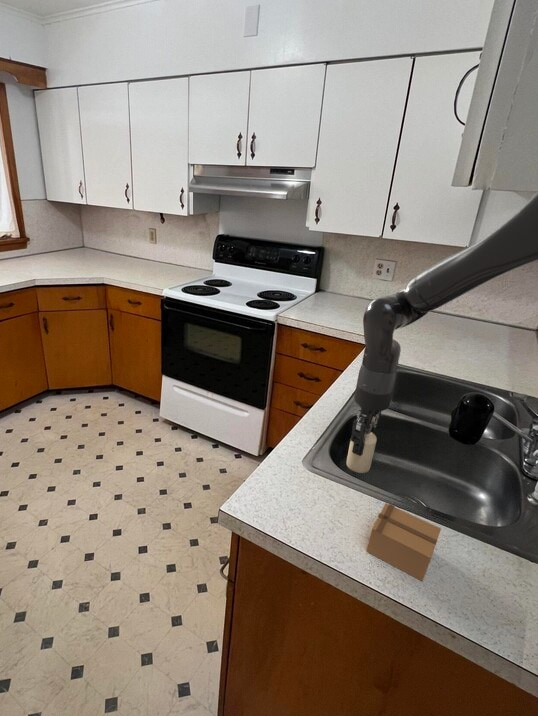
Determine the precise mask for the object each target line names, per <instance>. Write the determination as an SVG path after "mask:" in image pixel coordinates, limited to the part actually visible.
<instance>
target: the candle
mask: <svg viewBox="0 0 538 716" xmlns="http://www.w3.org/2000/svg"><path fill="white" fill-rule="evenodd" d="M377 440H378V438H377V436H376V435H375V433H372V432H371V433H370V434H368V435H367V438H366V442H365V445H364V450H363V454H362V455H361V456H359V455H357V454H354V453H353V452H352V450H353V445H354V442H353V441H351V440H350V441H349V447H348V452H347V457H346V466H347V467H348V469H349V470H350V471H352V472H355V473H358V474H366V473H368V472H369V471H370V469H371V466H372V462H373V458H374V453H375V451H376V450H375V449H376V444H377Z"/></svg>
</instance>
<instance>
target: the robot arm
mask: <svg viewBox="0 0 538 716" xmlns="http://www.w3.org/2000/svg"><path fill="white" fill-rule="evenodd" d="M534 262H538V191H536V192H534V194H533V195H532V196H531V197H530V198H529V199H528V201H527V202H526V204H525V205H524V206H523V207H522V208H521V209H519V211H517V212H516V213H514V214H513V215H512V216H511V217H510V218H509V219H508V220H506V221H505V222H504V223H503V224H502V225H500V226H499V227H498V228H497V229H494V231H493V232H491V233H490V234H489V235H487V236H485V237H484V238H482V239H480V240H479V241H478V242H476V243H474V244H472V245H471V246H468V247H466V248H464V249H463V250H460V251H458V252H456V253H453V254H452V255H450V256H448V257H446V258H444V259H441V260H440V261H439V262H436V263H435V264H433V265H431V266H430V267H429V268H427V269H425V270H424V271H422V272H421V273H419V274H418V275H416V276H414V277H413V278H412V279H410V281H408V282H407V284H406V285H405V287H404V288H403V289H401V290H399V291H397V292H395V293H393V294H388V295H385V296H381V297H377V298H374V299H373V300H371V301H370V302H369V303H368V305H367V306H366V307H365V310H364V313H363V318H362V322H363V323H362V324H363V338H364V344H365V345H364V351H363V356H362V362H361V364H360V368H359V371H358V375H357V380H356V386H355V391H354V396H353V399H354V402H355V404H357V405H358V407H360V409H358V411H357V414H356V417H357V418H356V419H354V420H353V421H352V428H351V437H350V441H353V442H354V445H353V450H352V452H353V453H354V454H357V455H359V456H361V455H362V454H363V450H364V445H365V442H366V438H367V435H368V434H370V433H371V432H372V433H373V434H375V433H374V432H375V429H376V428H377V425H378V424H379V423H380V421H381V417H382V412H383V411H385V410H387V409H389V407H390V404H391V402H392V397H393V393H394V389H395V384H396V379H397V370H398V365H399V362H400V357H401V352H402V348H401V345H400V343H399V342H398V341H397V340H395V339H394V333H395V330H399V329H402V328H404V327H405V328H406V327H407V326H409V325H412V324H414V323H415V322H417V321H419V320H421V319H422V318H423V317H424V316H426V315H427V314H429V313H430V312H432V311H434V310H437V309H439V308H441V307H442V306H445V305H446V304H448V303H451V302H452V301H454V300H456V299H458V298H459V297H463V296H464V295H466V294H468V293H470V292H471V291H473V290H475V289H476V288H478V287H480V286H482V285H484V284H486V283H488V282H490V281H491V280H493V279H495V278H497V277H500V276H502V275H505V274H506V273H509V272H511V271H513V270H515V269H518V268H521V267H523V266H526V265H529V264H531V263H534Z"/></svg>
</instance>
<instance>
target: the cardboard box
mask: <svg viewBox="0 0 538 716" xmlns="http://www.w3.org/2000/svg"><path fill="white" fill-rule="evenodd" d="M441 531H442V528H441V527H439V526H437V525H435V524H433V523H430V522H428V521H426V520H423V519H421V518H420V517H417V516H415V515H413V514H410V513H409V512H406V511H404V510H402V509H400V508H398V507H396V506H395V505H393V504H391V503H386V502H384V505H383V507H382V508H381V511H380V512H379V513H378V515H377V518H376V519H375V522H374V523H373V525H372V527H371V530H370V536H369V539H368V543H367V547H366V553H368V554H370V555H372V556H373V557H375V558H378V559H379V560H381V561H383V562H384V563H387V564H389V565H391V566H392V567H394V568H397V569H398V570H400V571H401V572H403V573H405V574H407V575H409V576H411V577H413V578H415V579H417V580H419V581H420V582H424V579H425V577H426V573H427V571H428V568H429V565H430V562H431V559H432V556H433V553H434V550H435V547H436V545H437V543H438V539H439V535H440V533H441Z"/></svg>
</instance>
